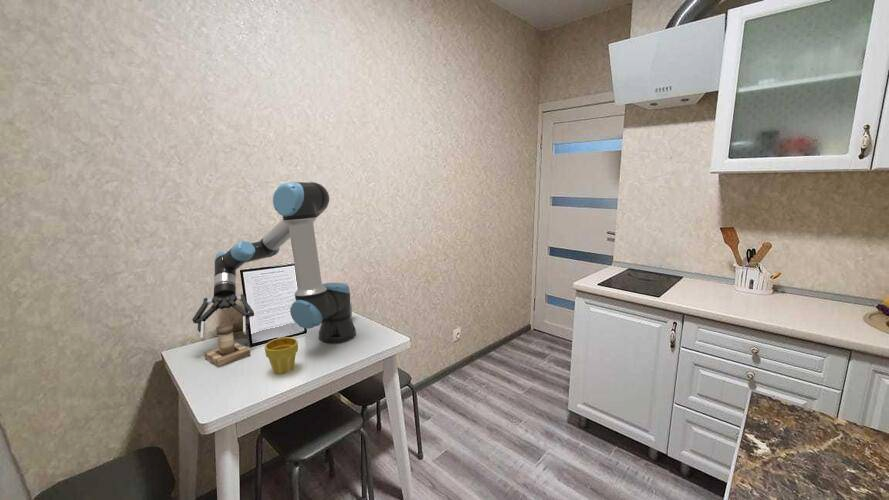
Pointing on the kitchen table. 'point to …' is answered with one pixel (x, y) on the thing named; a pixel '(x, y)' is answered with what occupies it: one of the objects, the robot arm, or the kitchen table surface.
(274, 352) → the plant pot
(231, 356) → the pocket block
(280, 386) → the kitchen table surface
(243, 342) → the coaster
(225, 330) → the mill
